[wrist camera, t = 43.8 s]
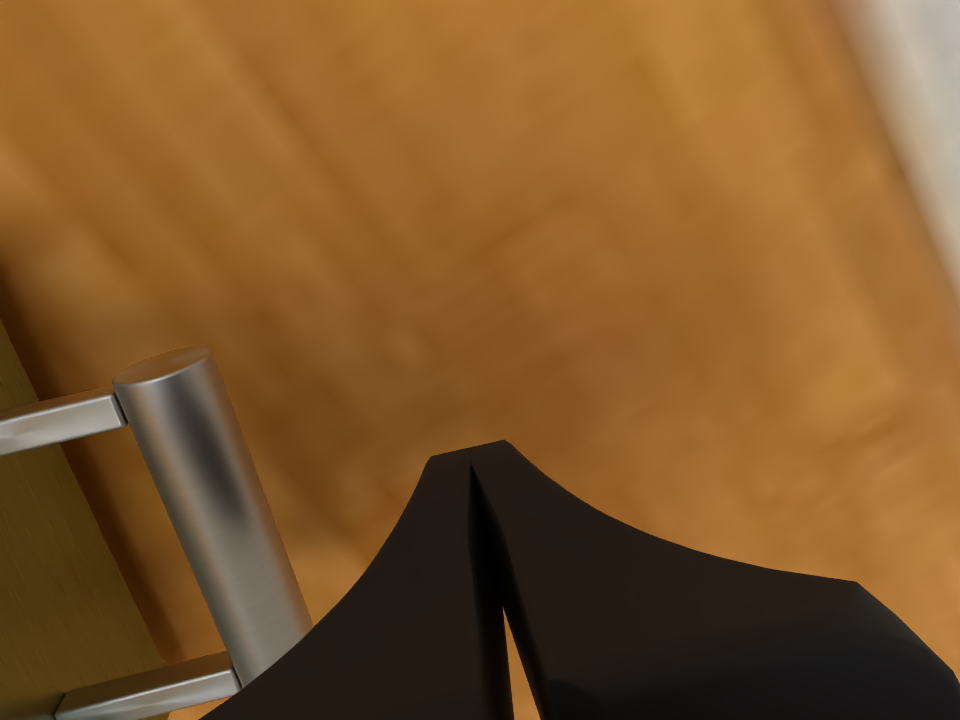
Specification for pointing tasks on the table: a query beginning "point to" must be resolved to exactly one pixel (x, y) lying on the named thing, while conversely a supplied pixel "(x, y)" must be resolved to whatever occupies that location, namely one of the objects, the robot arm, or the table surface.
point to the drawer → (92, 568)
